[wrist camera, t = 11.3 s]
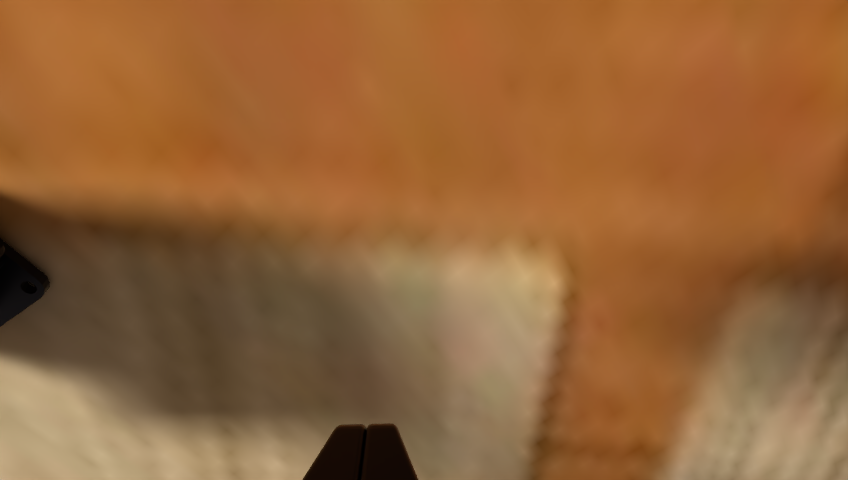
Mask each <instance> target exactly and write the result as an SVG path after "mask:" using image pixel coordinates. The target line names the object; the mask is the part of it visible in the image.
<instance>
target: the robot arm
mask: <svg viewBox="0 0 848 480" xmlns="http://www.w3.org/2000/svg"><path fill="white" fill-rule="evenodd" d="M28 282H31V283H33V284H34V285H35V286H32V285H30V284H29V283H28ZM49 287H50V281H49V279H48V277H47V276H46V275H45V274H44V273H43V272H42V271H40V270H39V269H38V268H37V267H35V266H34V265H33V264H32V263H30V262H29V261H28V260H27V259H25V258H24V257H23V256H22V255H20V254H19V253H18V252H17V251H15V250H14V249H13V248H12V247H11V246H9V245H8V244H7V243H6V242H4V241H3V240H2V239H1V238H0V326H2V325H3V324H5V323H6V322H7V321H9V320H10V319H12V318H13V317H14V316H16V315H17V314H19V313H20V312H22V311H23V310H24V309H26V308H27V307H29V306H30V305H31V304H33V303H34V302H36V301H37V300H38V299H40V298H41V297H42V296H43V295H44V293H45V292H46V291H47V290H48V288H49ZM303 480H418V478H417V475H416V473H415V470H414V468H413V466H412V463H411V461H410V458H409V456H408V453H407V451H406V448H405V446H404V443H403V441H402V438H401V436H400V433H399V431H398V428H397V427H396V425H394V424H391V423H389V424H370V425H369V426H368V427H367V428H366V427H365V426H364V425H362V424H352V425H339V426H338V427H336V428H335V430H334V431H333V433H332V434H331V436H330V437H329V439H328V440H327V442H326V444H325V445H324V447H323V448H322V450H321V451H320V453H319V455H318V456H317V458H316V459H315V461H314V462H313V464H312V466H311V467H310V469H309V470H308V472H307V473H306V475H305V477H304V478H303Z"/></svg>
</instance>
